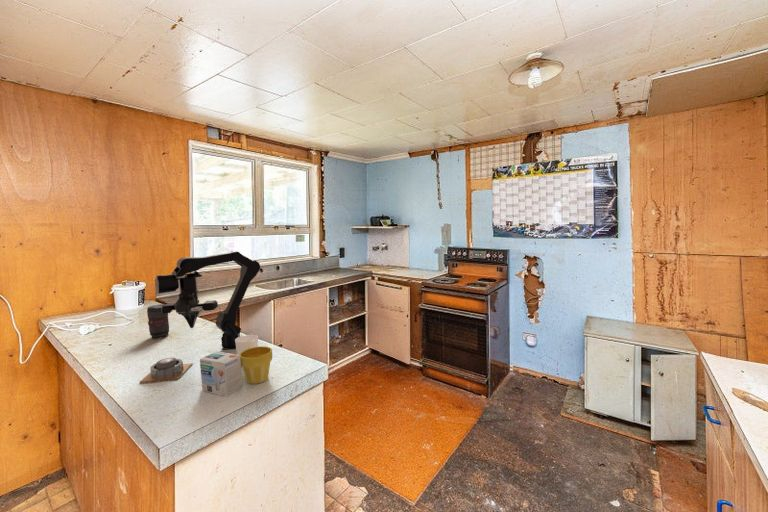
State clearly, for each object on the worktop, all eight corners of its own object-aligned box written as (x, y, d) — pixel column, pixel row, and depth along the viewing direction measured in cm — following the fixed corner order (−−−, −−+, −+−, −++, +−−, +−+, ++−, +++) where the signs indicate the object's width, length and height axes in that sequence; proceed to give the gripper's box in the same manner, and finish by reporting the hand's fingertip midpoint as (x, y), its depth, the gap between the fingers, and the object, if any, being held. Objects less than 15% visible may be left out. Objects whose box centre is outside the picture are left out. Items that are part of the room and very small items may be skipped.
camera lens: (160, 340, 151) (156, 308, 150) (145, 339, 153) (142, 308, 151) (174, 334, 159) (171, 304, 158) (160, 333, 161) (157, 303, 159)
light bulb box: (201, 391, 104) (198, 358, 103) (218, 381, 110) (216, 350, 109) (226, 396, 100) (224, 363, 99) (243, 386, 106) (241, 354, 105)
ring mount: (192, 364, 124) (191, 356, 123) (178, 379, 112) (177, 370, 112) (157, 367, 122) (156, 359, 121) (139, 383, 110) (138, 373, 110)
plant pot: (247, 373, 116) (245, 346, 115) (276, 371, 116) (275, 345, 115) (236, 387, 105) (234, 358, 104) (269, 385, 106) (267, 357, 105)
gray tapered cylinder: (180, 367, 120) (178, 356, 120) (172, 374, 114) (171, 363, 114) (162, 369, 119) (161, 358, 119) (153, 376, 113) (152, 365, 113)
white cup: (237, 370, 118) (235, 343, 117) (236, 362, 125) (234, 336, 124) (260, 365, 122) (259, 339, 121) (258, 357, 129) (256, 333, 128)
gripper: (151, 295, 119) (156, 336, 120) (207, 292, 122) (210, 332, 124) (166, 289, 130) (170, 327, 131) (216, 286, 133) (219, 323, 135)
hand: (192, 327), depth 130 cm, fingers closed
